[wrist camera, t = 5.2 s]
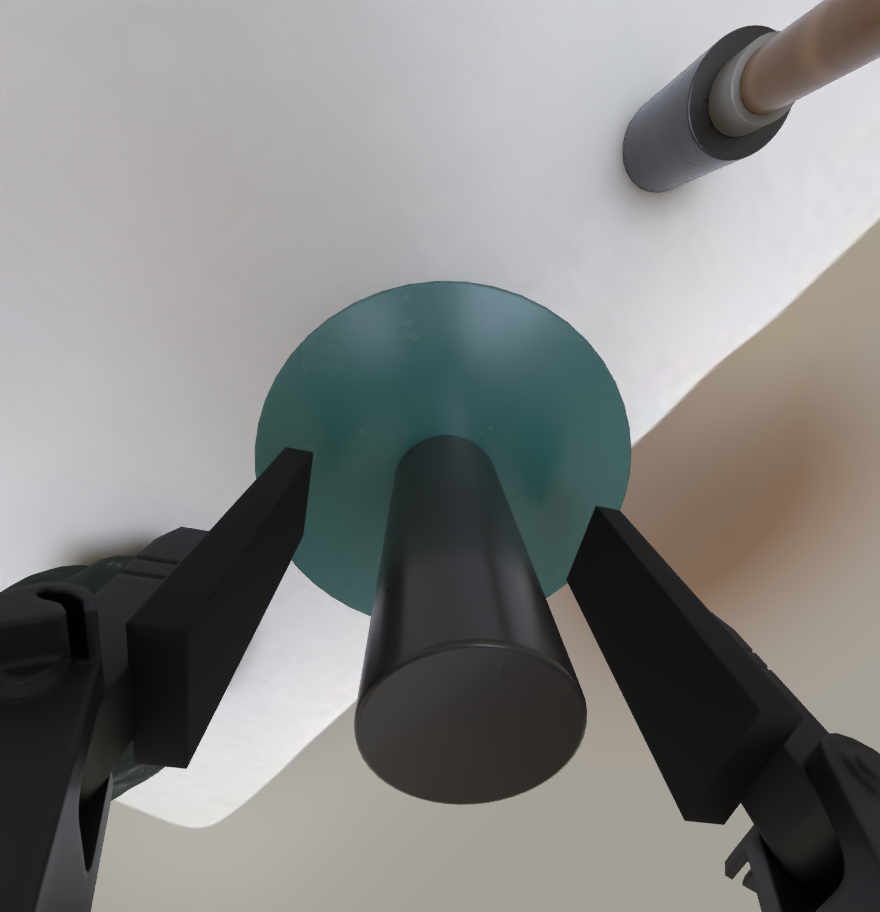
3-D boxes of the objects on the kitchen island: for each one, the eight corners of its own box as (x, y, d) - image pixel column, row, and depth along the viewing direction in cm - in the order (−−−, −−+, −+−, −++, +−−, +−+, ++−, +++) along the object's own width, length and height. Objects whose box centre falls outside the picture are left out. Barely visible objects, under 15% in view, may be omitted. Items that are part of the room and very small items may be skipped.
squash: (-62, 714, 28) (-83, 981, 19) (-67, 527, 24) (-97, 760, 15) (176, 645, 39) (235, 797, 30) (204, 507, 34) (283, 635, 25)
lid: (255, 582, 17) (53, 927, 8) (282, 236, 13) (-123, 80, 3) (554, 628, 19) (684, 967, 9) (674, 332, 14) (1167, 411, 5)
